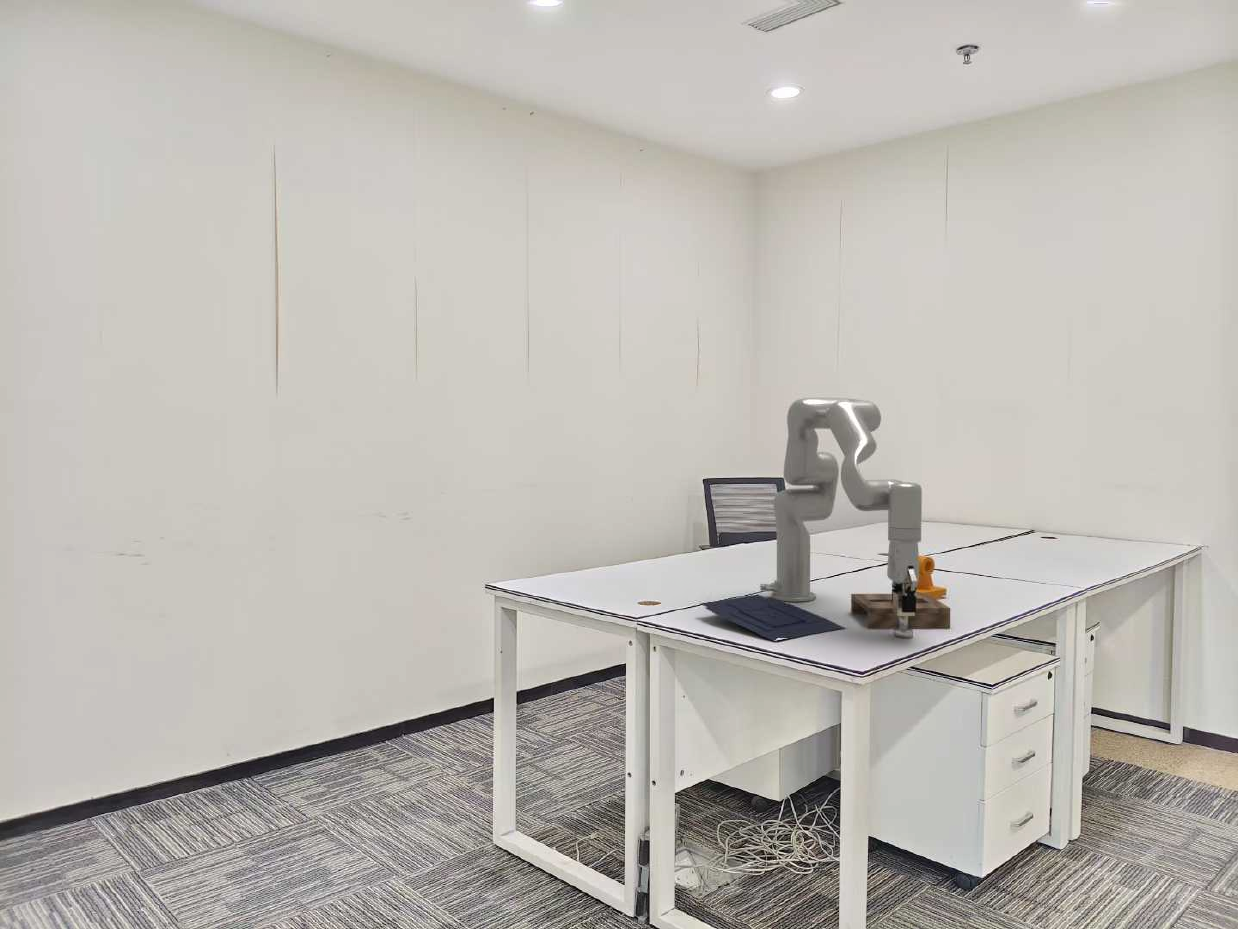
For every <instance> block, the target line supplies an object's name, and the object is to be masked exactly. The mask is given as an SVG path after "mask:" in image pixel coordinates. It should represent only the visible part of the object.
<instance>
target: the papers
mask: <svg viewBox="0 0 1238 929" xmlns="http://www.w3.org/2000/svg"><path fill="white" fill-rule="evenodd" d="M699 604H700V605H702V606H703V607H705V609H706V610H708V611H710V612H711V613H713V614H714V615H717V616H719V617H722V618H724V619H726V620H729V621H730V622H733V623H735V624H737V625H739V626H741V627H744V628H745V629H747V630H750V631H752V632H754V633H755V634H757V635H760V636H762V637H764V638H765V639H768V640H770V641H773V640H776V639H777V638H790V639H794V638H797V637H803V636H808V635H812V634H817V633H823V632H831V631H836V630H842V629H845V627H844V626H843V625H839V624H837V623H836V622H833V621H831V620H829V619H827V618H826V617H823V616H820V615H818V614H815V613H813V612H810V611H808V610H806V609H803V608H801V607H798V606H796V605H794V604H791V603H789V602H788V603H786V601H781V600H776V599H774V598H772V597H771V596H769V597H765V596H762V595H760V594H753V595H747V596H740V597H735V598H729V599H722V600H715V601H707V602H701V603H699ZM773 642H774V641H773Z"/></svg>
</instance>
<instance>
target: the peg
mask: <svg viewBox="0 0 1238 929" xmlns="http://www.w3.org/2000/svg"><path fill="white" fill-rule="evenodd" d="M902 595H903V592H893V613H894V614H896V615H897V616H899V628H893V637H894V638H898V639H902V640H903V639H904V640H905V639H906V640H907V639H908V640H909V639H912V638H914V629H913V628H908V616H915V613H903V612H902Z"/></svg>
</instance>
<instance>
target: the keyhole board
mask: <svg viewBox="0 0 1238 929" xmlns="http://www.w3.org/2000/svg"><path fill="white" fill-rule="evenodd" d="M850 595H851V596H850V598H851V599H850V601H851V602H850V613H851V614H867V628H868V629H894V628H899V616H897V615H896V614H894V613H893V605H892V593H851V594H850ZM908 628H909V629H951V607H950V606H947V605H946V604H945V603H943V602H941V601H939V599H938V600H936V599H934V598H933V597H931V596H929V595H928V594H917V595H916V612H915V616H908Z"/></svg>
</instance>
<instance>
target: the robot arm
mask: <svg viewBox="0 0 1238 929" xmlns="http://www.w3.org/2000/svg"><path fill="white" fill-rule="evenodd" d="M786 420H787V421H786V422H787V423H786V424H787V443H786V450H785V457H784V465H783V478H784V481H785V483H787V484H789V485H791V486H813V487H809V488H807V487H806V488H805V487H803V488H801V487H800V488H799V487H797V488H785V489H783V490H781V491H778V493H777V494H776V495H775V496H774V498H773V504H772V505H773V513H774V518H775V528H776V580H775V579H774V580H773V581H774V582H771V583H760V585H759V589H760V591H766V592H771V594H770V598H773V599H775V600H778V601H779V600H780V601H782V602H790V603H791V602H792V603H793V602H794V603H795V602H798V603H801V602H810V601H813V600H815V599H816V597H817V596H816V593H814V592H813V591H811V536H810V533H809V531H808V529H807V527H806V526H805V524H804V522H811V521H812V522H813V521H814V522H817V521H823V520H827V519H828V518H829V517H830V516H831V515H832V513H833V510H834V507H835V500H836V494H837V487H838V482H839V475H840V481H841V485H842V488H843V490H844V492H845V494H846V496H847V498H848V500H849V502H850V504H852V505H853V507H855V509H857V510H858V511H862V512H874V511H875V512H877V511H887V512H888V513H887V520H888V521H887V523H888V524H887V540H888V541H889V543H888V544H889V545H888V552H887V553H888V554H887V570H886V571H887V572H886V575H887V578H888V579H889V580H891V581H892V582H891V594H892V605H893V592H903V595H902V612H903V613H915V612H916V595H917V593H916V590H917V589H916V588H917V587H916V586H917V583H918V580H919V556H920V554H919V553H920V552H919V543H921V542H922V510H923V509H922V508H923V507H922V503H923V500H922V498H923V496H922V495H923V493H922V490H923V489H922V487H921V485H920V484H918V483H917V482H916V483H915V482H908V481H907V482H905V481H902V480H898V479H867V480H866V479H865V478H864V477H863V475H862V473H861V471H860V468H859V464H861V463H863V462H864V461H866V460H868V459H869V458H871V456H873V455H874V453H875V452H876V451H877V442H876V439H875V438H874V437H873V434H872V433H873V432H875V431H876V430H878V428H879V427H880V425H881V422H882V415H881V412H880V409H879V408H878V406H877V405H876V404H875V403H874V402H873V401H870V400H865V399H863V400H862V399H855V398H848V397H847V398H846V397H844V398H843V397H805V398H799V399H797V400H795V401H794V402H792V403H791V405H790V406H789V407H788V411H787V418H786ZM816 429H818V430H819V429H820V430H821V429H823V430H831V433H832V434H833V436H834V439H835V440H836V442H837V444H838V446H839V448H840V451H841V452H842V454H843V455H844V458H843V461H842V463H841V467H840V468H839V463H838V460H837V458H836V457H835V456H834V455H833V454H832V453H831V452H827V451H818V446H819V436H818V434H817V431H816ZM839 469H840V470H839ZM839 472H840V474H839ZM905 581H910V582H905ZM906 586H908V587H907V589H906ZM902 588H903V589H902Z"/></svg>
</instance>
